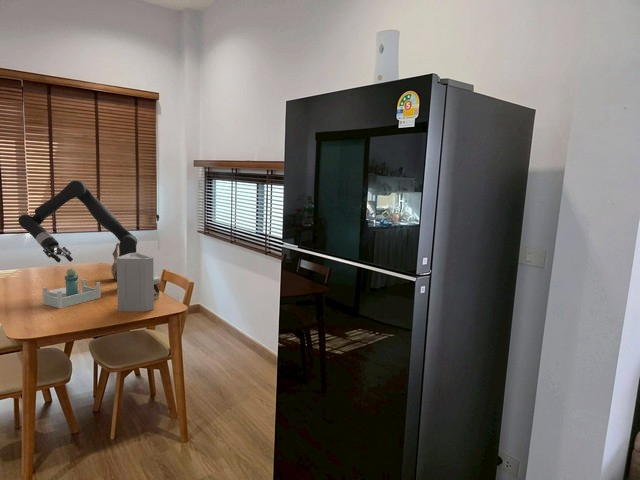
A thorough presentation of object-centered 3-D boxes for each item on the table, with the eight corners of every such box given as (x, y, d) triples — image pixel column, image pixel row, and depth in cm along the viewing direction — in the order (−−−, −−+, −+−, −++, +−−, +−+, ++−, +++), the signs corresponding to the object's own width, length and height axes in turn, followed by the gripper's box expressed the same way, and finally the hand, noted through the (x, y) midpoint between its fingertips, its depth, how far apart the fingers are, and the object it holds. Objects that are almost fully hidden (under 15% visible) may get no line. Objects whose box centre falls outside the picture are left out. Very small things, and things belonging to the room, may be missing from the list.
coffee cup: (154, 300, 236) (154, 280, 234) (139, 299, 237) (139, 278, 236) (163, 296, 245) (163, 276, 243) (149, 294, 247) (149, 275, 245)
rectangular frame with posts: (43, 303, 221) (42, 287, 220) (84, 294, 242) (84, 279, 241) (59, 308, 215) (58, 291, 214) (100, 297, 236) (100, 282, 235)
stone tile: (46, 294, 238) (46, 291, 237) (67, 290, 248) (66, 286, 248) (59, 298, 232) (59, 294, 232) (80, 293, 243) (80, 289, 243)
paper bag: (111, 306, 223) (109, 255, 219) (138, 301, 234) (137, 252, 230) (126, 315, 210) (125, 261, 206) (154, 309, 221) (154, 258, 217)
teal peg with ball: (81, 299, 232) (80, 267, 230) (75, 302, 226) (74, 270, 223) (69, 298, 232) (68, 267, 229) (63, 302, 226) (61, 269, 223)
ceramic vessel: (130, 281, 275) (130, 244, 272) (116, 283, 269) (115, 245, 265) (121, 276, 287) (121, 240, 283) (107, 278, 280) (106, 241, 277)
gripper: (40, 236, 225) (59, 256, 223) (61, 236, 239) (79, 255, 237) (32, 246, 226) (51, 266, 224) (53, 246, 240) (71, 265, 238)
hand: (65, 261), depth 230 cm, fingers open, 8 cm apart
